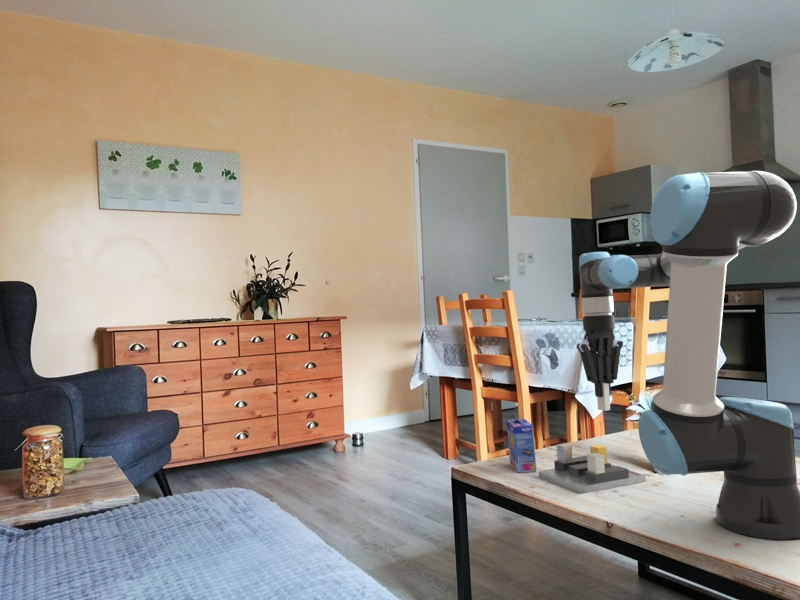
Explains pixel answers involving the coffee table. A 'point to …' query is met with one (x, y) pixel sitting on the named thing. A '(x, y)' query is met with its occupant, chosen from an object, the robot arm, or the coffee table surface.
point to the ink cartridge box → (521, 445)
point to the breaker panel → (588, 484)
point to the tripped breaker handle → (599, 451)
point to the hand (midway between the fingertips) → (604, 409)
